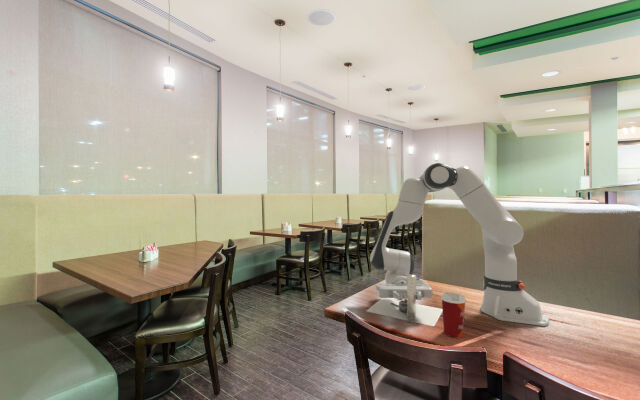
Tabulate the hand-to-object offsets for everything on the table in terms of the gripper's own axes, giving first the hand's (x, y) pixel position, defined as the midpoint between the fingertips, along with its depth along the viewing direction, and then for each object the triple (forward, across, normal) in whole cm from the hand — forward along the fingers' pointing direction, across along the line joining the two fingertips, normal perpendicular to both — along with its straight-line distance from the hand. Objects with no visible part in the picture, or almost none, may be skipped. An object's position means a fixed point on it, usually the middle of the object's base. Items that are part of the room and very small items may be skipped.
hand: (409, 297), depth 104 cm
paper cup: (+7, +12, +11) cm, 18 cm away
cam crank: (-10, +2, +9) cm, 14 cm away
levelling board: (-13, +1, +10) cm, 16 cm away
